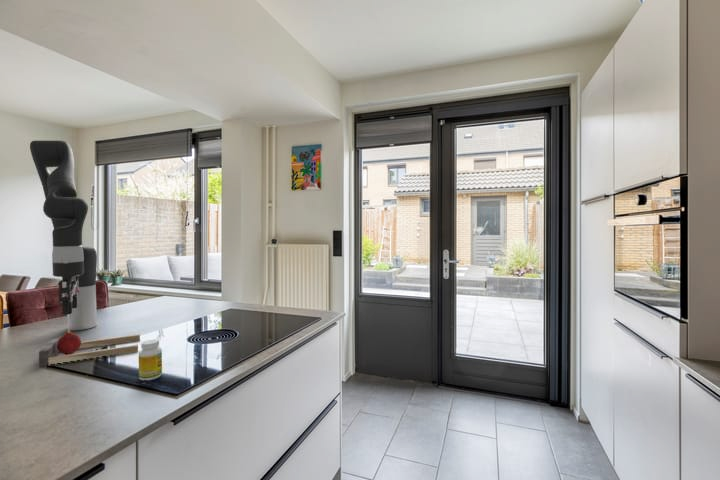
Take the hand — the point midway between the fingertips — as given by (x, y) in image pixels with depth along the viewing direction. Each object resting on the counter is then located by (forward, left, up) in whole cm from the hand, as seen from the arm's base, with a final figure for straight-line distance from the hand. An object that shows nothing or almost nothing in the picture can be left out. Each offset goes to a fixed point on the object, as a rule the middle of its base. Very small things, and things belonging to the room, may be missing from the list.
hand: (70, 311), depth 107 cm
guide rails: (0, +6, -14) cm, 15 cm away
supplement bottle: (+32, +22, -14) cm, 42 cm away
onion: (0, 0, -14) cm, 14 cm away
